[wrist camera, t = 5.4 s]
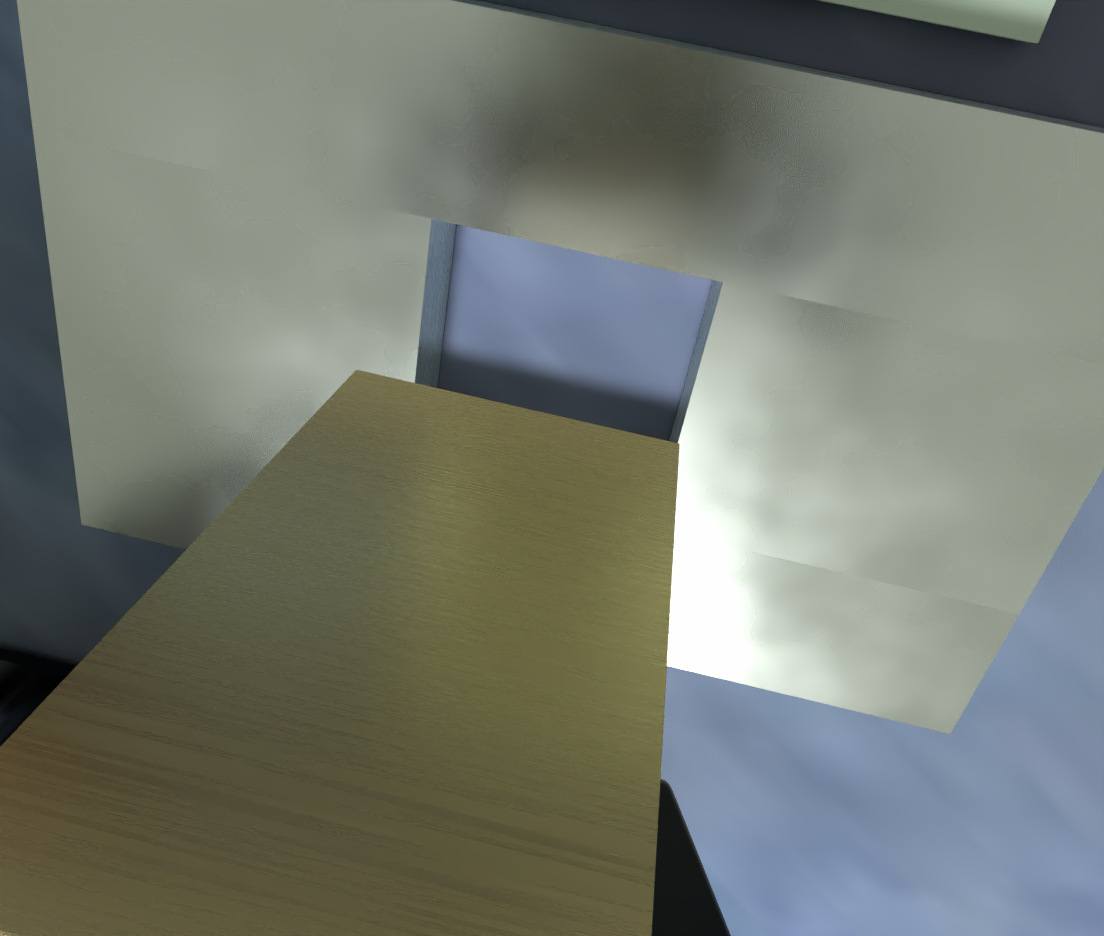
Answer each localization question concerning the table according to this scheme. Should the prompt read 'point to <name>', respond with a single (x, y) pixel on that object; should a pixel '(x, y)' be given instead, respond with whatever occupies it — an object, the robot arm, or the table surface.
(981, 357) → the aluminium plate
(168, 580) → the brass peg
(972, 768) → the table surface
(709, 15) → the table surface
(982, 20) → the sage mat
